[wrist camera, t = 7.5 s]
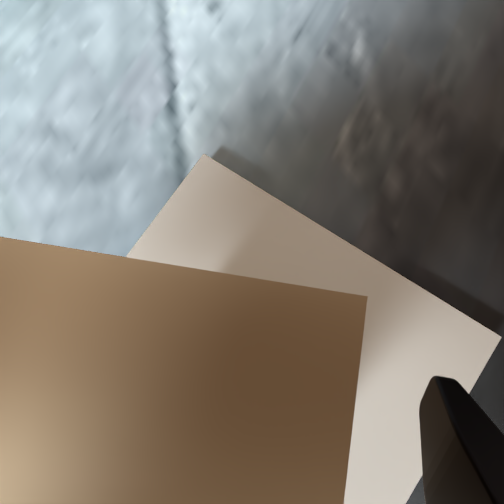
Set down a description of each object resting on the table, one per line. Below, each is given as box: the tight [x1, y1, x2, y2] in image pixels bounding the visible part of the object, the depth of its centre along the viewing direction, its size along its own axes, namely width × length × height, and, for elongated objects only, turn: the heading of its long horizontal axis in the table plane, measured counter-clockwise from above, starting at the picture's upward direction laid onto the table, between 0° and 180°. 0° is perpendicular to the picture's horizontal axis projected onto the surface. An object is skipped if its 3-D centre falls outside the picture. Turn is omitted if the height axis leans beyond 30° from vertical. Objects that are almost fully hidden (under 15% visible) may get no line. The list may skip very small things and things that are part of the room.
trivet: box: [126, 154, 501, 504], centre depth 16 cm, size 14×14×1 cm
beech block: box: [0, 237, 368, 504], centre depth 10 cm, size 5×5×11 cm
